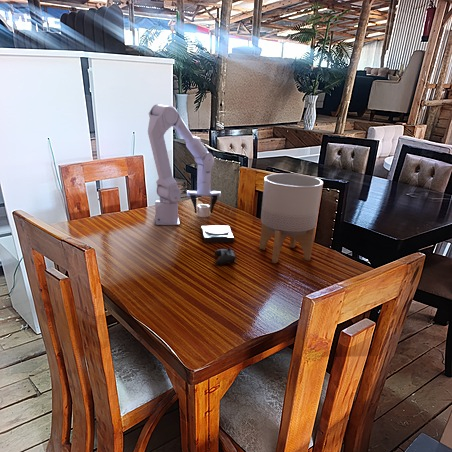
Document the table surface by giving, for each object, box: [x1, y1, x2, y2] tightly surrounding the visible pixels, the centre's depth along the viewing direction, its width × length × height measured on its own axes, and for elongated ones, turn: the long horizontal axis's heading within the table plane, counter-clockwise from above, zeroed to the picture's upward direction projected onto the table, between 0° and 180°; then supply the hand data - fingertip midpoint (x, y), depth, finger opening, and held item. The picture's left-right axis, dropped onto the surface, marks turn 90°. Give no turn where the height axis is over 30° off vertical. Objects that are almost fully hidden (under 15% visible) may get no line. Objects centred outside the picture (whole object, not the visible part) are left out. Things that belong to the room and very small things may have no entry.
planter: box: [259, 172, 324, 264], centre depth 135 cm, size 19×19×26 cm
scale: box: [201, 224, 235, 244], centre depth 154 cm, size 11×13×2 cm
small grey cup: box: [196, 203, 211, 218], centre depth 175 cm, size 5×5×4 cm
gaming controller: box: [214, 247, 236, 266], centre depth 134 cm, size 10×5×6 cm
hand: (203, 212), depth 175 cm, fingers open, 6 cm apart
